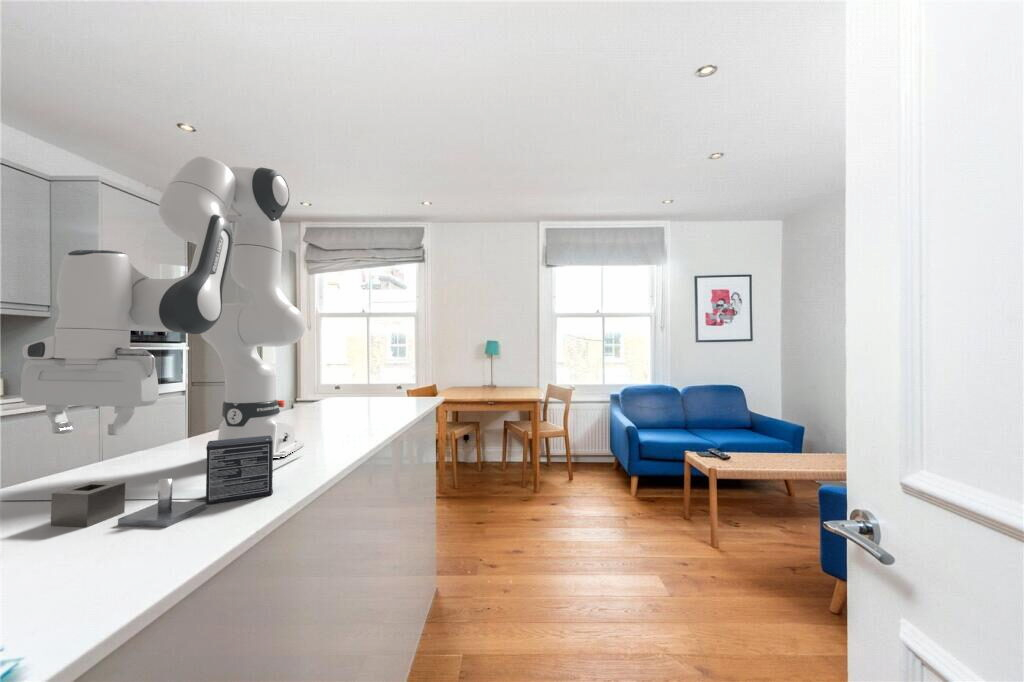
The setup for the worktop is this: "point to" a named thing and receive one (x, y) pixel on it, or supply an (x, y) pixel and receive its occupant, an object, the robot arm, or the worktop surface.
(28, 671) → the worktop surface
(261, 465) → the small box
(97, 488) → the collar
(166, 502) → the shaft stand
